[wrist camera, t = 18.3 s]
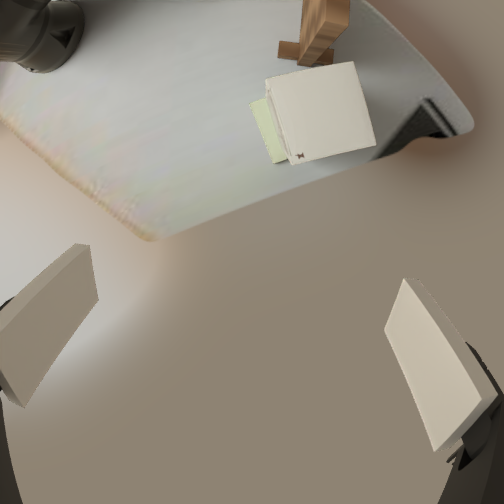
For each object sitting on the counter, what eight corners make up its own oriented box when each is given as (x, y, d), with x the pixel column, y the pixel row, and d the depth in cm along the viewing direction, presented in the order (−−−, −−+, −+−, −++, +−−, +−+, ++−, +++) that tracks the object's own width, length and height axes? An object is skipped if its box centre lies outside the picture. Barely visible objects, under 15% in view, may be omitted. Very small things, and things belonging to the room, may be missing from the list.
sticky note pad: (249, 103, 41) (248, 103, 40) (323, 79, 39) (324, 79, 38) (273, 163, 45) (273, 163, 44) (345, 139, 43) (346, 139, 42)
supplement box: (340, 138, 42) (380, 149, 27) (282, 152, 43) (292, 170, 28) (323, 79, 38) (355, 58, 23) (263, 93, 40) (263, 77, 24)
